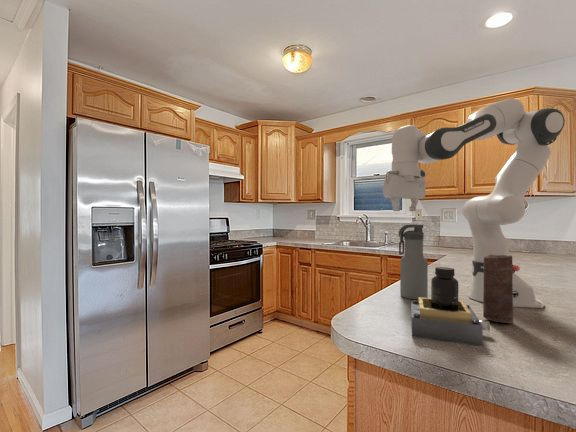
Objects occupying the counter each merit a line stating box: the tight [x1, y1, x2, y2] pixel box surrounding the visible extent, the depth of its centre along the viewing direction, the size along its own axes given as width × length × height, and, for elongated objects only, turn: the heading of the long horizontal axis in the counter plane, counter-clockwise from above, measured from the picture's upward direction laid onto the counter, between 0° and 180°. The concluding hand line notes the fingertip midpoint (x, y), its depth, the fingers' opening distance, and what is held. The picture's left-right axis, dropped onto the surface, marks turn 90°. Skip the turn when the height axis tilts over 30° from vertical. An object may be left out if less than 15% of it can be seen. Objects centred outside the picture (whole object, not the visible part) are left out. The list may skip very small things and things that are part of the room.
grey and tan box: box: [410, 297, 491, 347], centre depth 85 cm, size 19×16×7 cm
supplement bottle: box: [430, 266, 459, 311], centre depth 87 cm, size 7×7×12 cm
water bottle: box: [398, 223, 429, 301], centre depth 120 cm, size 10×10×28 cm
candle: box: [482, 255, 514, 324], centre depth 92 cm, size 8×7×20 cm
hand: (404, 211), depth 110 cm, fingers open, 8 cm apart
